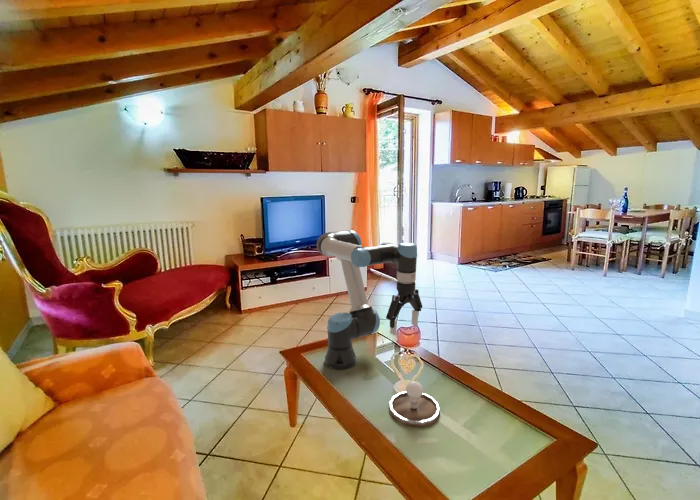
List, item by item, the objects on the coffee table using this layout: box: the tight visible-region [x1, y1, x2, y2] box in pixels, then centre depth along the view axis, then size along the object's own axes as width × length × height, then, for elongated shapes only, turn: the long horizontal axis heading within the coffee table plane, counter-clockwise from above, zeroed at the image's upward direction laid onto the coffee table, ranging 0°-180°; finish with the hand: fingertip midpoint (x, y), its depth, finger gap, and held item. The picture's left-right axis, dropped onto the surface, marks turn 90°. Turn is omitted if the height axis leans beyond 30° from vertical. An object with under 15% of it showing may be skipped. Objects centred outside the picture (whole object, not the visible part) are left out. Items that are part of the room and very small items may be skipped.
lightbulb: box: [405, 380, 424, 409], centre depth 135 cm, size 6×6×11 cm
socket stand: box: [388, 390, 441, 428], centre depth 136 cm, size 19×19×2 cm
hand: (404, 329), depth 148 cm, fingers open, 13 cm apart
